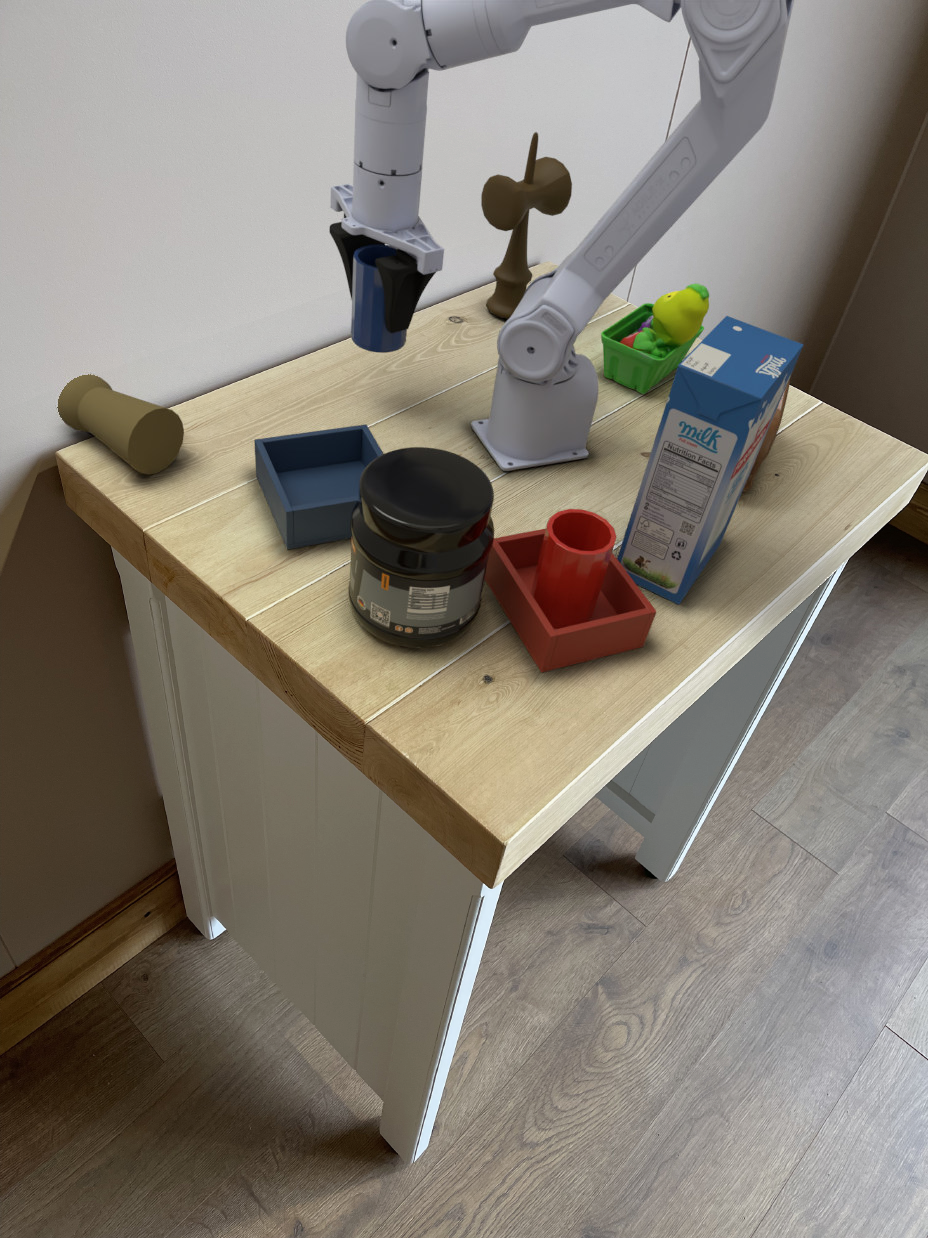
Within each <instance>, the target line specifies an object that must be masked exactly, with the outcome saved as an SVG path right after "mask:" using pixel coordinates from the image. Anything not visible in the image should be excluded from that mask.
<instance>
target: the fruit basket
mask: <svg viewBox="0 0 928 1238" xmlns="http://www.w3.org/2000/svg"><path fill="white" fill-rule="evenodd" d="M709 299H710V292H709V290H708V288H707V287H706V286H705V285H704V284H699V283H691V284H688V285H687V286H686V287H685V288H684V289H681V290H675V291H674V290H673V291H671V292H668V293H665V294H663V295H661V296H660V297H658V298H657V299H656V300H655V302H654V303H649V302H645V303H643V304H641V305H640V306H639V307H637V308H636V309H634V310H633V311H631V312H630V313H628V314H627V315H625V316H624V317H622V318H620V319H619V320H618V321H616V322H615V323H614V324H612V325H610V326H609V327H607V328H605V329H604V330H602V331H601V333H600V336H601V344H602V352H603V353H602V354H603V377H605V378H607V379H611V380H613V381H614V382H615V383H618V384H620V385H622V386H624V387H626V388H629V389H631V390H634V391H637V392H638V393H639V394H641V395H642V394H643V395H645V394H647V393H648V392H649V391H650V390H651V389H652V388H653V387H655V386H656V385H657V384H659V383H660V382H661V380H662V379H665V378H666V377H667V376H669V375H670V374H671V372H672V371H675V370H677V368H678V365H679V364H680V363H681V362H682V361H683V360H684V359H685V358H686V357H687V355H688V353H689V351H690V349H691V348H692V346H693V345H694V343H695V342H696V340H697V339H698V338H699V337H700V336H701V334H702V333H703V332H704V330H705V326H704V325H703V323H704V319H705V317H706V315H707V314H708V312H709V309H710V300H709Z"/></svg>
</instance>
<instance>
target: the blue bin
mask: <svg viewBox="0 0 928 1238" xmlns="http://www.w3.org/2000/svg"><path fill="white" fill-rule="evenodd" d="M253 443H254V460H255V477H256V479H257V481H258V485H259V486H260V489H261V491H262V493H263V496H264V498H265V501H266V503H267V505H268V508H269V510H270V513H271V515H272V517H273V519H274V522H275V524H276V527H277V530H278V531H279V534H280V536H281V539H282V541H283V544H284V546H285V549H286V550H292V549H293V550H294V549H297V548H298V549H299V548H305V547H309V546H315V545H319V544H320V545H321V544H325V543H331V542H337V541H342V540H349V539H351V531H350V519H351V514H352V511H353V508H354V506H355V504H356V503H357V501H358V497H359V481H360V477H361V474H362V472H363V471H364V469H365V468H366V466H367V465H368V464H369V463H370V462H372V461H373V460H374V459H376V458H377V457H379V456H381V455H383V454H384V452H383V450H382V449H381V447H380V445H379V443H378V442H377V440H376V438H375V436H374V435H373V433H372V432H371V430H370V428H369V426H368V424H367V423H366V424H359V425H357V424H356V425H352V426H351V425H350V426H343V427H336V428H328V429H322V430H321V429H320V430H314V431H307V432H299V433H292V434H285V435H279V436H278V435H276V436H270V437H269V436H268V437H263V438H255V439H254V440H253Z"/></svg>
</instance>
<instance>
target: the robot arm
mask: <svg viewBox="0 0 928 1238" xmlns="http://www.w3.org/2000/svg"><path fill="white" fill-rule="evenodd" d="M794 3H795V0H368V1H365V3H363V4H362V5H360V7H359V8H357V9H356V10H355V11H354V13H353V14H352V15H351V17H350V19H349V22H348V23H347V27H346V33H345V48H346V53H347V57H348V59H349V62H350V64H351V67H352V68H353V70H354V71H355V73H356V81H355V82H356V83H355V84H356V85H355V100H354V101H355V105H354V110H355V111H354V134H353V135H354V136H353V137H354V138H353V139H354V140H353V169H352V170H353V171H352V172H353V173H352V174H353V176H352V184H350V183H345V184H344V183H343V184H338V185H337V184H336V185H332V186H330V209H332V210H333V211H334V212H337V213H340V212H343V218H341V221H339V222H334V223H331V224H330V225H329V231H328V232H329V234H330V236H331V238H332V240H333V242H334V244H335V245H336V248H337V250H338V253H339V255H340V258H341V261H342V264H343V268H344V272H345V277H346V281H347V286H348V291H349V295H350V299H351V300H352V288H353V256H354V253H355V251H356V250H357V249H359V248H360V247H363V246H367V245H375V244H382V245H390V246H392V247H394V248H395V249H397V250H396V256H394V255H392V256H387V257H383V258H378V259H376V262H375V264H376V266H377V268H378V271H379V273H380V277H381V280H382V285H383V290H384V298H385V323H386V328H387V330H388V331H389V332H390V333H395V332H399V331H403V330H406V329H407V330H409V328H410V325H411V322H412V320H413V317H414V315H415V311H416V309H417V306H418V303H419V301H420V300H421V297H422V295H423V293H424V291H425V289H426V287H427V286H428V284H429V282H430V281H431V280H432V278H433V277H434V276H435V275H436V273H437V272H442V271H443V265H444V255H445V248H444V247H443V246H441V245H440V244H439V243H438V242H437V241H436V240H435V239H434V237H433V236H432V234H431V233H430V231H429V229H428V228H427V226H426V225H425V223H424V222H423V220H422V219H421V217H420V214H419V213H420V201H421V191H422V180H423V179H422V177H423V163H424V162H423V161H424V151H425V150H424V149H425V139H426V128H427V127H426V126H427V114H428V104H427V103H428V91H429V78H430V70H433V71H439V72H442V71H446V70H449V69H454V68H457V67H461V66H465V65H468V64H469V65H470V64H472V63H477V62H480V61H485V60H488V59H492V58H497V57H500V56H504V55H508V54H513V53H516V52H518V51H519V50H520V48H521V47H522V45H524V44H523V43H524V42H525V40H526V38H527V36H528V33H530V30H531V28H532V27H534V26H539V25H544V24H549V23H553V22H557V21H558V22H559V21H562V20H566V19H572V18H577V17H580V16H585V15H589V14H595V13H598V12H603V11H607V10H612V9H616V8H621V7H626V6H630V5H637V6H639V7H641V8H643V9H644V10H645V11H647V12H649V13H651V14H652V15H654V16H656V17H658V18H659V19H661V20H662V21H664V22H666V23H671V21H672V20H673V19H674V18H675V16H677V14H678V13H679V11H680V10H681V14H682V18H683V22H684V24H685V28H686V31H687V33H688V35H689V38H690V41H691V43H692V45H693V47H694V50H695V52H696V54H697V57H698V74H699V95H700V99H699V100H698V102H697V103H696V104H695V105H694V107H693V108H692V109H691V110H690V111H689V112H688V113H687V115H685V117H684V119H682V121H681V122H680V123H679V124H678V126H677V127H675V129H674V130H673V131H672V132H671V133H670V135H669V136H668V137H667V139H666V140H665V141H664V142H663V143H662V145H661V146H660V147H659V148H658V149H657V150H656V151H655V152H654V154H653V155H652V156H651V158H650V159H649V160H647V161H648V162H646V163H645V164H644V166H643V167H642V169H641V170H640V171H639V172H638V173H637V174H636V176H635V177H634V178H633V179H632V181H630V182H629V184H628V185H627V186H626V188H625V189H624V190H623V191H622V192H621V193H620V195H619V196H618V197H617V198H616V200H615V201H614V202H613V203H612V205H611V206H610V207H609V208H608V209H607V210H606V211H605V213H604V214H603V215H602V216H601V218H600V219H599V220H598V221H597V222H596V224H595V225H594V226H593V227H592V228H591V230H590V231H589V232H588V233H587V235H586V236H585V237H584V238H583V239H582V240H581V241H580V243H579V244H578V245H577V246H576V248H575V249H574V250H573V251H572V252H570V253H569V254H568V255H566V257H565V258H564V259H563V260H562V261H561V262H560V264H559V265H558V266H557V267H555V268H554V269H553V270H551V271H550V272H547V273H544V274H541V275H539V276H537V277H535V278H534V279H533V280H531V281H530V282H529V285H527V287H526V291H525V293H524V296H523V298H522V300H521V302H520V303H519V305H518V306H517V308H516V309H515V311H514V312H513V314H512V316H511V317H510V318H509V319H506V321H505V322H504V323H503V325H502V326H501V328H500V330H499V332H498V335H497V340H496V349H497V355H498V359H497V367H496V373H495V378H494V385H493V390H492V398H491V404H490V410H489V416H488V418H485V419H477V420H473V421H471V422H470V427H471V429H472V430H473V432H474V433H475V434H476V436H477V437H478V439H479V440H480V442H481V443H482V444H483V446H484V448H485V449H486V451H487V452H488V453H489V454H490V456H491V457H492V459H493V460H494V462H495V463H496V464H497V466H498V467H499V469H500V470H501V471H504V472H509V471H515V470H516V471H517V470H521V469H528V468H532V467H539V466H546V465H553V464H558V463H564V462H570V461H577V460H582V459H583V460H584V459H586V458H588V457H589V454H590V452H589V451H588V450H587V449H586V447H587V446H586V445H587V444H588V443H587V442H588V439H589V435H590V431H591V427H592V422H593V421H594V420H593V419H594V415H595V411H596V407H597V404H598V399H599V378H598V373H597V371H596V368H595V366H594V364H593V362H592V361H591V359H590V358H589V357H587V355H585V354H581V353H576V350H575V349H576V348H575V346H574V345H575V343H576V341H577V339H578V337H579V336H580V335H581V333H583V331H584V330H585V328H587V326H588V324H589V323H590V321H591V320H592V318H594V316H595V314H596V313H597V311H598V310H599V309H600V307H601V306H602V304H603V303H604V302H605V301H606V299H607V298H608V297H609V296H610V295H611V294H612V293H613V292H614V291H615V290H616V289H617V287H618V286H619V285H620V284H621V283H622V282H623V281H624V279H626V277H628V275H629V274H630V273H631V272H632V271H633V270H634V268H635V267H636V266H637V265H638V264H640V262H641V261H642V260H643V259H644V257H645V256H646V255H647V254H648V253H649V252H650V251H651V250H652V249H653V248H654V247H655V246H656V244H657V243H659V241H660V240H661V239H662V238H663V237H664V236H665V234H667V232H668V231H669V230H670V229H671V228H672V227H673V226H674V225H675V224H676V222H678V220H679V219H680V218H681V217H682V216H683V215H684V214H685V212H686V211H687V210H688V209H689V208H691V206H692V205H693V204H694V203H695V202H696V200H698V198H699V197H701V195H702V194H703V193H704V191H706V190H707V189H708V187H709V186H710V185H711V184H712V183H713V182H714V181H715V179H717V177H718V176H719V175H720V174H721V173H722V172H723V171H724V170H725V168H726V167H728V165H729V164H730V163H731V162H732V161H733V160H735V159H734V158H735V157H737V155H738V154H739V153H740V152H741V151H742V150H743V149H744V148H745V147H746V146H747V144H749V142H750V141H751V140H752V139H754V137H755V135H757V134H758V132H760V130H761V129H762V127H763V126H764V124H765V123H766V122H767V120H768V118H769V115H770V112H771V108H772V105H773V101H774V96H775V92H776V86H777V81H778V79H779V72H780V69H781V68H780V67H781V63H782V58H783V55H784V49H785V45H786V40H787V35H788V30H789V25H790V21H791V17H792V12H793V8H794Z"/></svg>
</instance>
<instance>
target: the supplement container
mask: <svg viewBox="0 0 928 1238" xmlns="http://www.w3.org/2000/svg"><path fill="white" fill-rule="evenodd" d="M494 491H495V490H494V487H493V484H492V482H491V480H490V478H489V477H488V476H487V474H486V472H485V471H483V470H482V469H481V468H480V467H479V466H478V465H476V464H475V462H473V461H471V460H470V459H467V458H466V457H464V456H462V455H459V454H458V453H454V452H452V451H449V450H446V449H440V448H436V447H424V446H413V447H411V446H410V447H404V448H398V449H394V450H391V451H388V452H385V453H383V455H381V456H379V457H377V458H376V459H374V460H373V461H372V462H370V463H369V464H368V465H367V466H366V468H365V469H364V471H363V472H362V474H361V477H360V481H359V497H358V501H357V503H356V504H355V506H354V508H353V511H352V514H351V519H350V531H351V538H350V539H351V540H350V560H349V563H350V564H349V565H350V566H349V581H348V586H347V597H348V604H349V607H350V610H351V611H352V614H353V617H354V618H355V619H356V621H357V622H358V623H359V625H360V626H362V627H363V628H364V630H366V631H367V632H368V633H370V634H371V635H373V636H374V637H376V638H377V639H379V640H381V641H384V642H386V643H389V644H392V645H394V646H399V647H403V648H412V649H425V648H434V647H439V646H443V645H445V644H448V643H450V642H453V641H455V640H456V639H458V638H460V637H461V636H463V635H464V634H465V633H466V632H467V631H468V630H470V628H471V627H472V626H473V625H474V623H475V622H476V620H477V618H478V616H479V614H480V610H481V606H482V595H483V589H484V584H485V574H486V568H487V563H488V557H489V552H490V550H491V548H492V545H493V540H494V538H495V525H494V521H493V518H492V512H493V506H494V500H495V492H494Z"/></svg>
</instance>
